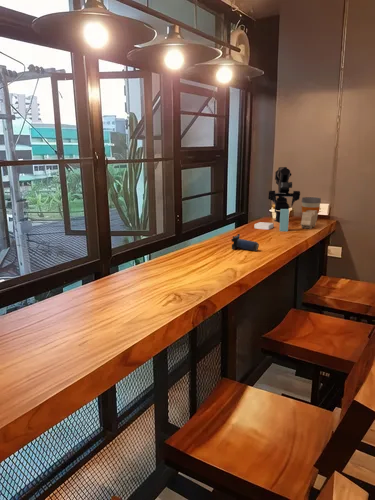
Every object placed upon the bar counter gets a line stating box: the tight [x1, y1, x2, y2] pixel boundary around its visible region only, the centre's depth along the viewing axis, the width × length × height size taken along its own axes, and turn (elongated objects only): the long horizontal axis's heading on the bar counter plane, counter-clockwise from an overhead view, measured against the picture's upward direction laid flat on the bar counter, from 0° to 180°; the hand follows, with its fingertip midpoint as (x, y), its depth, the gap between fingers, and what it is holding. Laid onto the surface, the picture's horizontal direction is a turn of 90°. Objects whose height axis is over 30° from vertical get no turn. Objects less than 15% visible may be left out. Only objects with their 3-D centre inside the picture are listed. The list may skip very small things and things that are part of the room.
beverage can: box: [231, 233, 260, 252], centre depth 187 cm, size 9×8×12 cm
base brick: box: [253, 221, 275, 230], centre depth 243 cm, size 9×9×3 cm
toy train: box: [300, 210, 318, 230], centre depth 243 cm, size 6×17×10 cm, turn 150°
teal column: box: [278, 208, 290, 232], centre depth 232 cm, size 5×5×12 cm
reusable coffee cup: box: [301, 196, 322, 221], centre depth 270 cm, size 13×13×15 cm
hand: (284, 205), depth 238 cm, fingers open, 9 cm apart
